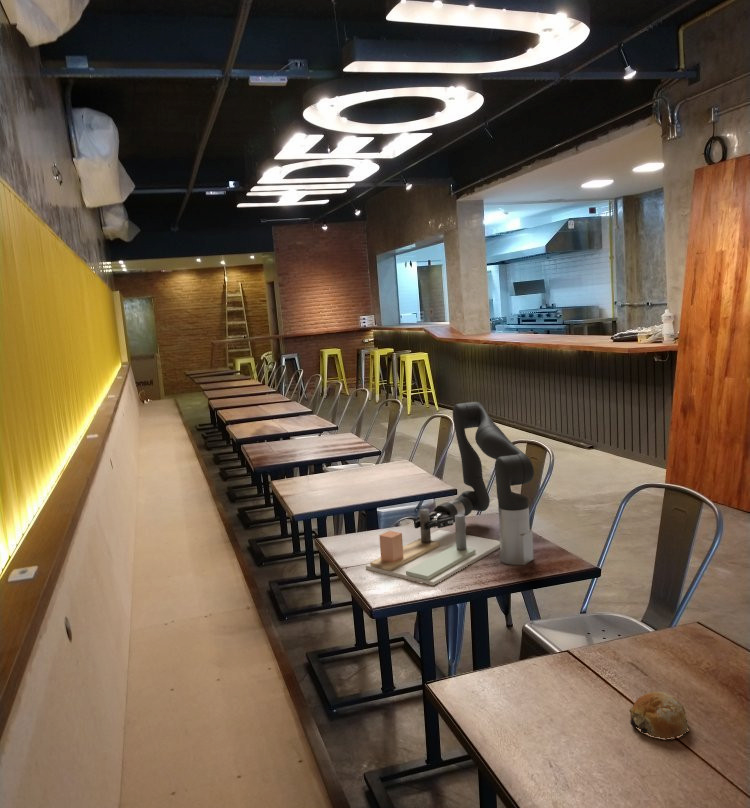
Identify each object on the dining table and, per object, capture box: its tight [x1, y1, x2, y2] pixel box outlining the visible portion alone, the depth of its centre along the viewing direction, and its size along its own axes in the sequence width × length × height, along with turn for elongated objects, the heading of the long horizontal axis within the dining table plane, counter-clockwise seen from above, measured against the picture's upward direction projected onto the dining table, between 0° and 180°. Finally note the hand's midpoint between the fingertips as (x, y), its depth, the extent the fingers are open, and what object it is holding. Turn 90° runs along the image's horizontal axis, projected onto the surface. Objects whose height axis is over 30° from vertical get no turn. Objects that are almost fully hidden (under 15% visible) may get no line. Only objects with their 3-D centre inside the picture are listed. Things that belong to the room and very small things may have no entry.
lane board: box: [365, 529, 500, 586], centre depth 228 cm, size 26×40×1 cm, turn 140°
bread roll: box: [628, 691, 689, 739], centre depth 132 cm, size 10×10×8 cm
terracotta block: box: [379, 530, 404, 563], centre depth 221 cm, size 5×5×8 cm
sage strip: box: [406, 514, 476, 580], centre depth 217 cm, size 8×26×12 cm, turn 140°
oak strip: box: [369, 508, 440, 571], centre depth 226 cm, size 8×26×12 cm, turn 140°
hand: (420, 526), depth 232 cm, fingers closed on oak strip, 3 cm apart
